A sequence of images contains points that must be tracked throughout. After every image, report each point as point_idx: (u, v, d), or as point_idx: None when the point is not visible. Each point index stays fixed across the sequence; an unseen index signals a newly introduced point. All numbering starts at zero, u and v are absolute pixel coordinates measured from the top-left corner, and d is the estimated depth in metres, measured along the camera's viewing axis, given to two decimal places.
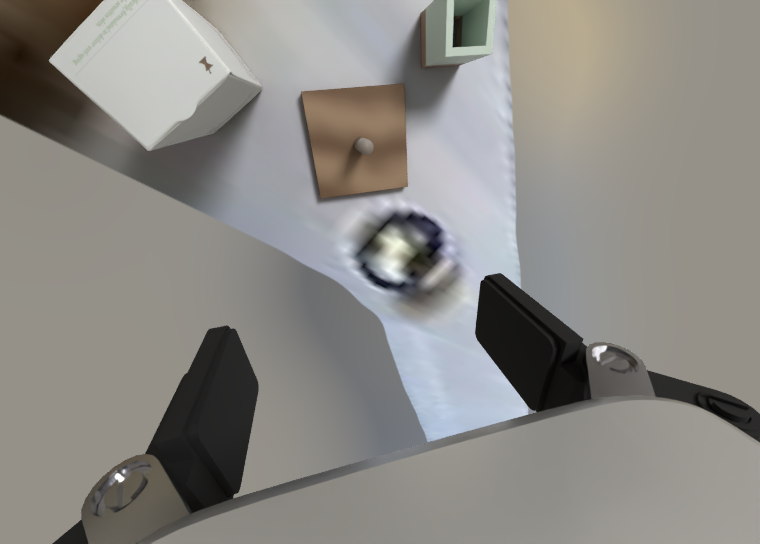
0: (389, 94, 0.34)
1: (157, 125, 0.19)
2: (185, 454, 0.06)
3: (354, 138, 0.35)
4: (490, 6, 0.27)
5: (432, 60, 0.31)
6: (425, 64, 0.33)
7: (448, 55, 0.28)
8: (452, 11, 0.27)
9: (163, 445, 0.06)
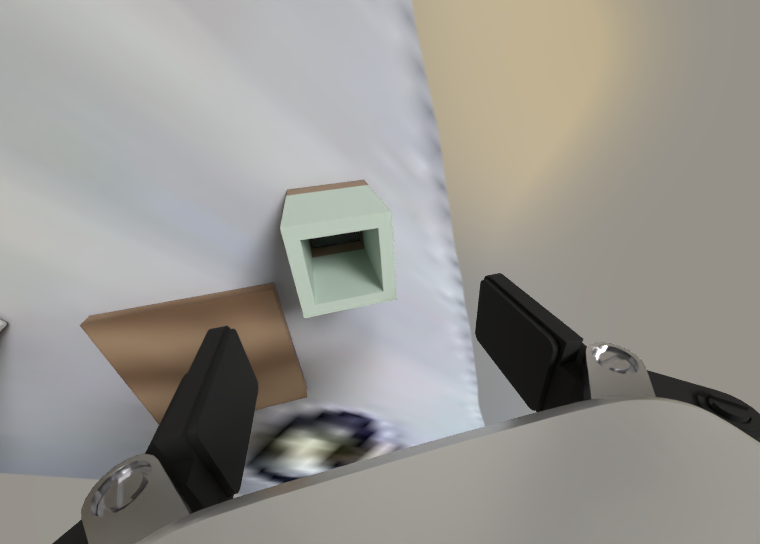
0: (249, 306, 0.20)
1: None
2: (185, 454, 0.06)
3: None
4: (381, 240, 0.14)
5: None
6: None
7: (309, 315, 0.15)
8: (301, 258, 0.13)
9: (163, 445, 0.06)
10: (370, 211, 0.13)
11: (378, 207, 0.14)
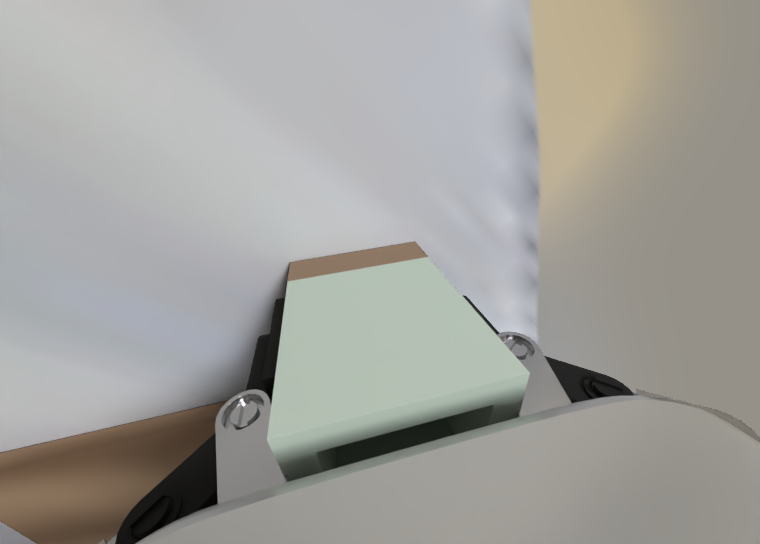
0: None
1: None
2: None
3: None
4: (493, 423, 0.06)
5: None
6: None
7: None
8: None
9: (267, 382, 0.07)
10: (475, 366, 0.06)
11: (487, 350, 0.06)
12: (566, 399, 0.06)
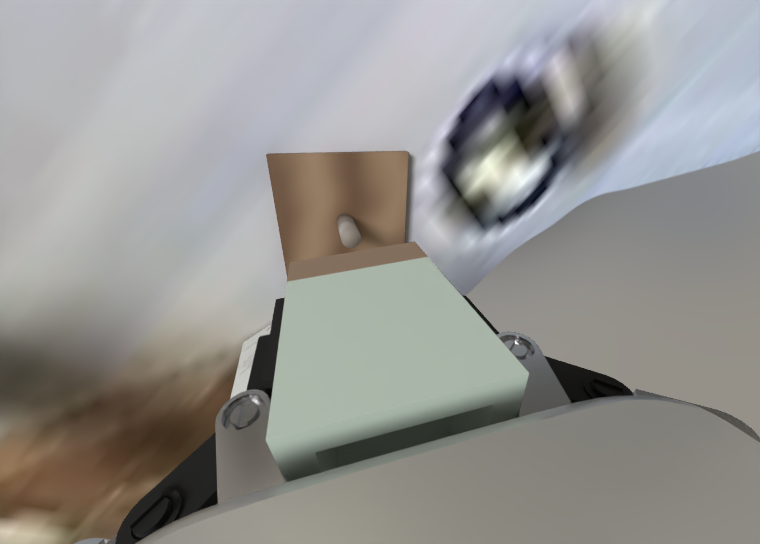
0: (283, 178, 0.24)
1: None
2: None
3: (337, 228, 0.27)
4: None
5: None
6: None
7: None
8: None
9: (267, 382, 0.07)
10: (474, 367, 0.06)
11: (486, 350, 0.06)
12: (566, 399, 0.06)
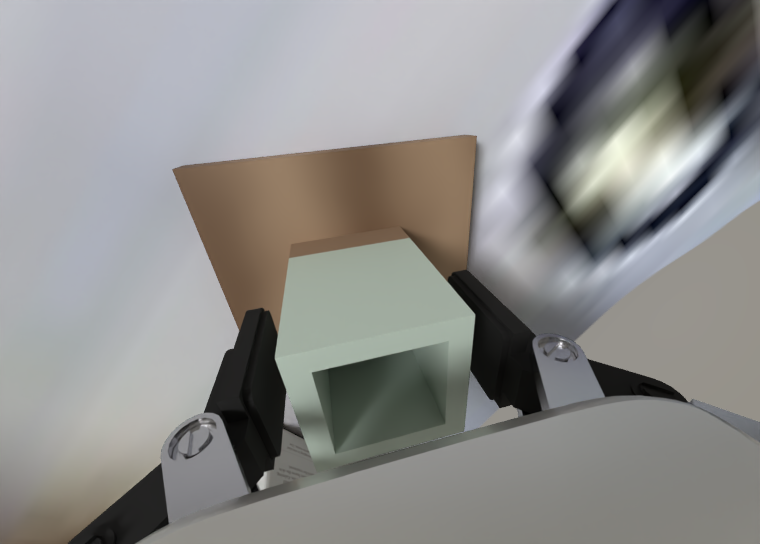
0: (220, 216, 0.11)
1: None
2: (241, 414, 0.07)
3: None
4: (451, 358, 0.08)
5: None
6: None
7: (326, 468, 0.09)
8: (313, 398, 0.07)
9: (223, 405, 0.07)
10: (434, 311, 0.08)
11: (446, 301, 0.08)
12: None
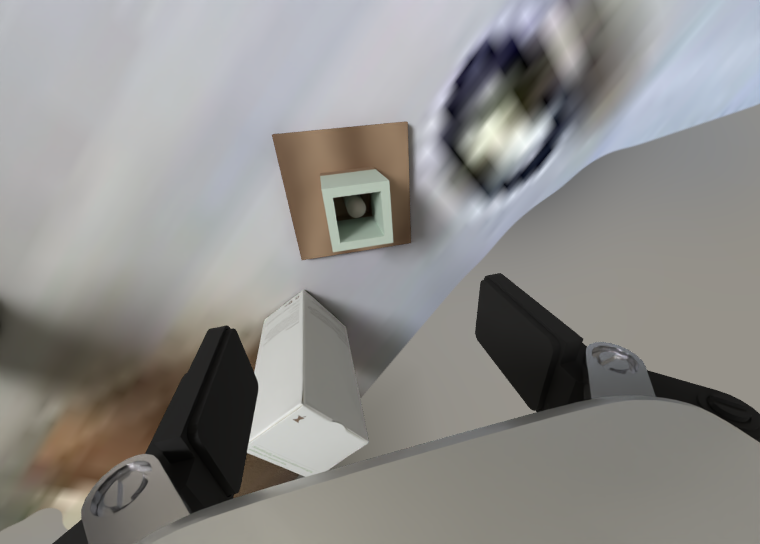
0: (289, 157, 0.25)
1: (349, 440, 0.23)
2: (185, 454, 0.06)
3: (344, 203, 0.28)
4: (382, 199, 0.22)
5: None
6: None
7: (336, 250, 0.23)
8: (333, 210, 0.21)
9: (163, 445, 0.06)
10: (376, 181, 0.21)
11: (381, 179, 0.22)
12: None
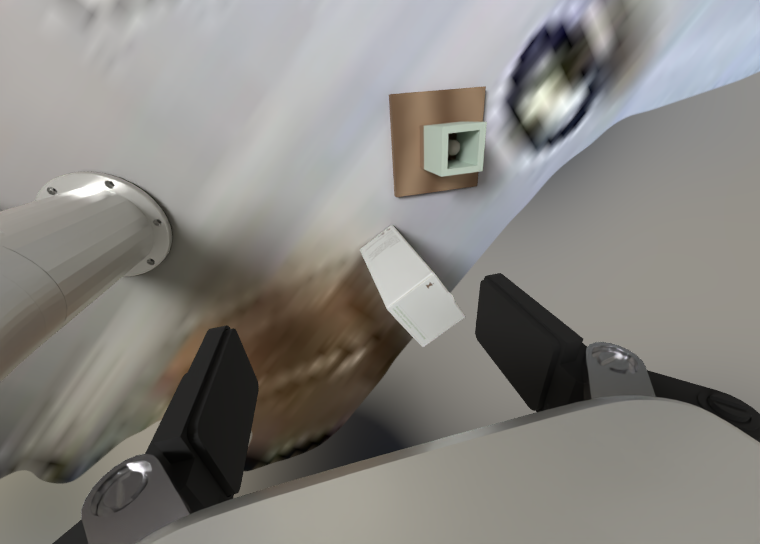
0: (400, 112, 0.34)
1: (455, 311, 0.32)
2: (185, 454, 0.06)
3: None
4: (480, 136, 0.31)
5: (430, 170, 0.35)
6: (423, 168, 0.36)
7: (443, 175, 0.32)
8: (447, 143, 0.30)
9: (163, 445, 0.06)
10: (476, 122, 0.30)
11: (478, 122, 0.31)
12: None
